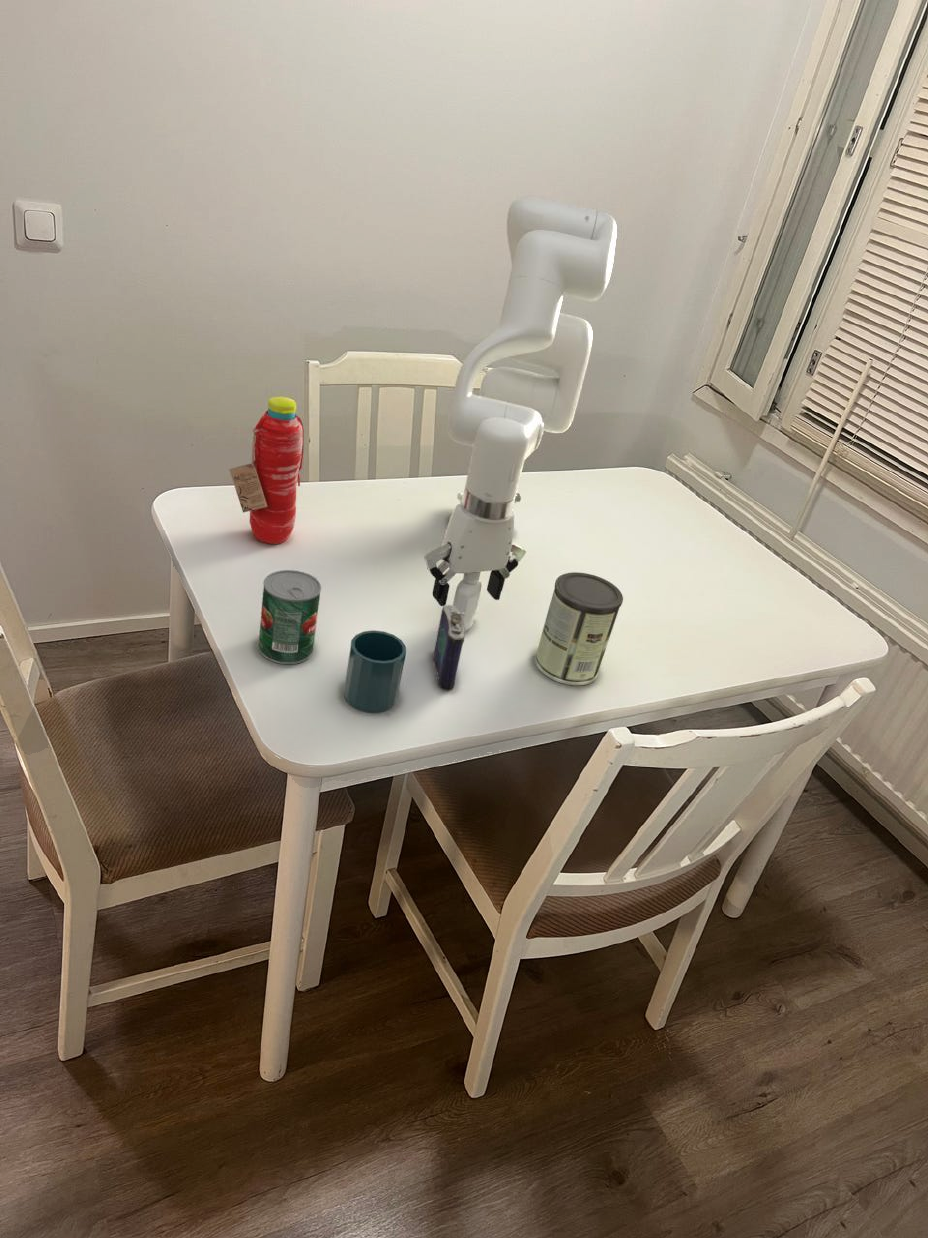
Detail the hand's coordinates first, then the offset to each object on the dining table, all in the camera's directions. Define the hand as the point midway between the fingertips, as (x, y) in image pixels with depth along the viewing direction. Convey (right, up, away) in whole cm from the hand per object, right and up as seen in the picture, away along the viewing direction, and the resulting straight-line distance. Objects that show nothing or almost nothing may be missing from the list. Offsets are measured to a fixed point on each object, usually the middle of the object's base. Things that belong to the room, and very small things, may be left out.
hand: (466, 598), depth 141 cm
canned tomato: (-26, -8, -12) cm, 30 cm away
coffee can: (+16, -11, -2) cm, 19 cm away
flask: (-3, -11, -9) cm, 15 cm away
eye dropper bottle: (-1, -5, +2) cm, 5 cm away
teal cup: (-13, -14, -17) cm, 26 cm away
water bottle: (-35, +11, +14) cm, 39 cm away
